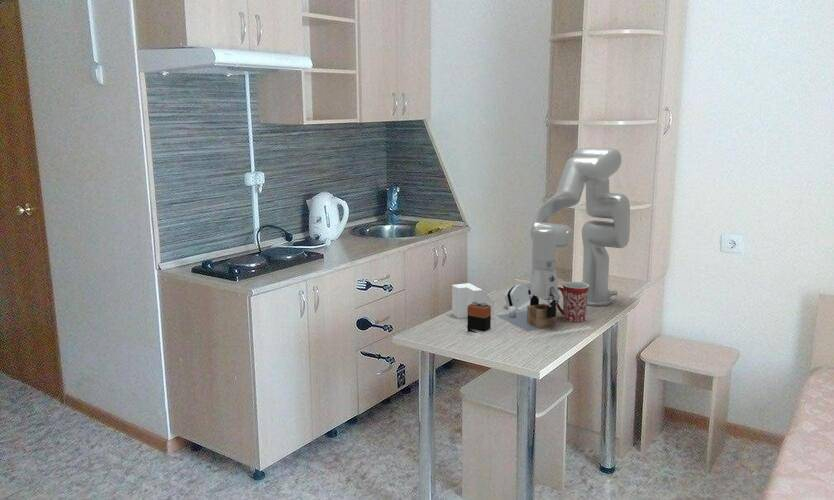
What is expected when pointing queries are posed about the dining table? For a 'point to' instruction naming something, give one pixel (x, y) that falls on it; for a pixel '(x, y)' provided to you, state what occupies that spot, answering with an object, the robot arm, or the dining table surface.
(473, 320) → the battery
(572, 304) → the mug
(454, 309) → the corner bracket
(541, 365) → the dining table surface
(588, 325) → the dining table surface
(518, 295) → the grey electronic device
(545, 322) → the brown wooden hollow block
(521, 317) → the peg stand
